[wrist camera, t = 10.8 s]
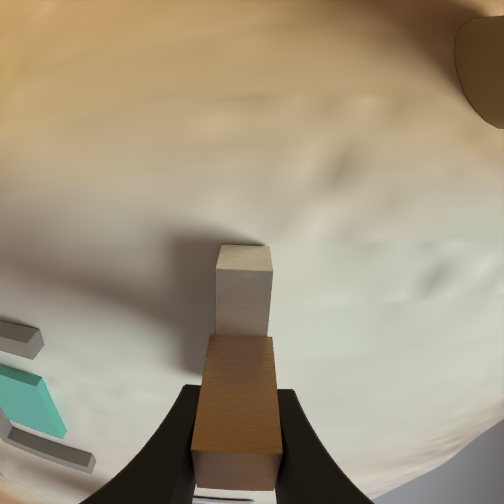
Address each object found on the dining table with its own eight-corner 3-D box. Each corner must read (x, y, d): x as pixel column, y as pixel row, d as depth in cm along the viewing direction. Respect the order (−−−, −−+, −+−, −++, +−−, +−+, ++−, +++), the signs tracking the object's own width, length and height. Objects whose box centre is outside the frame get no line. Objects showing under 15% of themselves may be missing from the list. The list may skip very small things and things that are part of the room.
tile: (68, 425, 20) (62, 439, 19) (14, 407, 20) (7, 419, 18) (45, 372, 18) (36, 386, 16) (-11, 355, 18) (-21, 366, 16)
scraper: (261, 386, 17) (265, 518, 9) (216, 384, 17) (202, 515, 9) (274, 246, 14) (298, 381, 6) (216, 244, 14) (181, 375, 6)
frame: (96, 460, 21) (91, 474, 20) (9, 431, 21) (3, 441, 19) (38, 329, 16) (26, 343, 14) (-53, 306, 16) (-64, 315, 14)
